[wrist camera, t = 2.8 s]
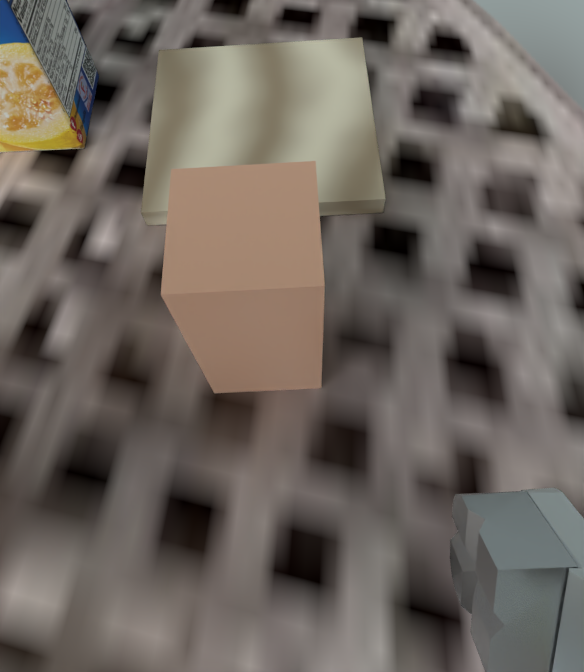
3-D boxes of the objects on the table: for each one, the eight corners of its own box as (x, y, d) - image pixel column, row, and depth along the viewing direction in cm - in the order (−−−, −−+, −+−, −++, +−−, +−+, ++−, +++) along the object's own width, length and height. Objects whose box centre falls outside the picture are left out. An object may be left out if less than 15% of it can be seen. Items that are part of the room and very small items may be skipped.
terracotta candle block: (214, 393, 26) (160, 294, 17) (217, 299, 28) (171, 169, 19) (321, 388, 26) (324, 286, 17) (315, 294, 28) (315, 160, 19)
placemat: (147, 225, 31) (141, 212, 29) (163, 65, 37) (158, 50, 35) (382, 212, 30) (385, 198, 29) (360, 53, 36) (362, 37, 35)
